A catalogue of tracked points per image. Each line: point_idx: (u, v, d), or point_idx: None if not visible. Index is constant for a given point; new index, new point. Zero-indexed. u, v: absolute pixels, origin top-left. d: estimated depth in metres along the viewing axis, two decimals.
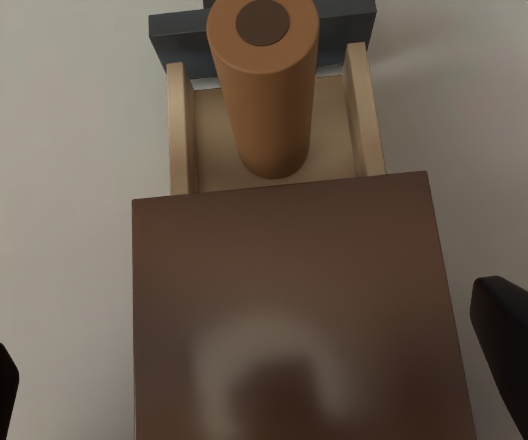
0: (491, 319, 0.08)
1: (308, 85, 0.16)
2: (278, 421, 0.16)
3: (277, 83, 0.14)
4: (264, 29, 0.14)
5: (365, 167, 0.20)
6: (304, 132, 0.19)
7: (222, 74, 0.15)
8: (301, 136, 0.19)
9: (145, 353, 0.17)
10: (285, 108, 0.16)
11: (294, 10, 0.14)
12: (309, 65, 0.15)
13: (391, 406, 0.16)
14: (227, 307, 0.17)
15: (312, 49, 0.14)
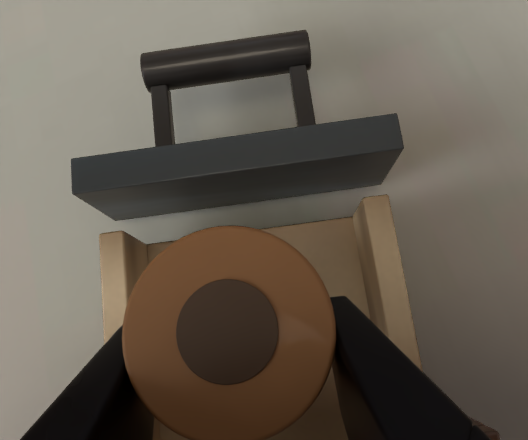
0: None
1: None
2: None
3: None
4: (230, 344, 0.07)
5: None
6: None
7: None
8: None
9: None
10: None
11: (287, 302, 0.07)
12: None
13: None
14: None
15: (324, 383, 0.07)
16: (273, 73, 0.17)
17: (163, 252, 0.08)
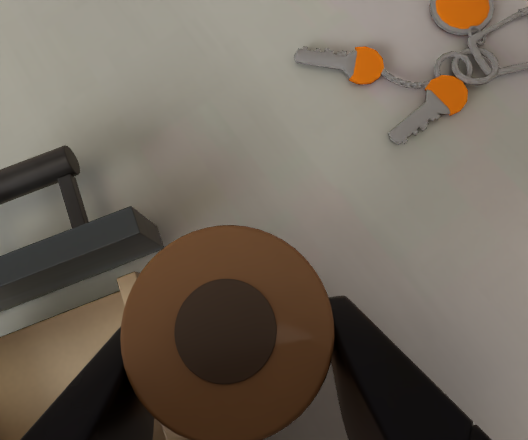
0: None
1: None
2: None
3: None
4: (228, 343, 0.07)
5: (163, 430, 0.17)
6: None
7: None
8: None
9: None
10: None
11: (285, 301, 0.07)
12: None
13: None
14: None
15: (322, 382, 0.07)
16: (48, 185, 0.21)
17: (161, 252, 0.08)
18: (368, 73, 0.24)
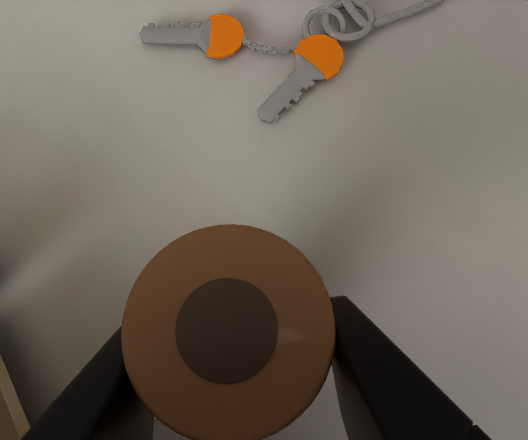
0: None
1: None
2: None
3: None
4: (230, 342, 0.07)
5: None
6: None
7: None
8: None
9: None
10: None
11: (286, 300, 0.07)
12: None
13: None
14: None
15: None
16: None
17: (162, 251, 0.08)
18: (226, 45, 0.20)
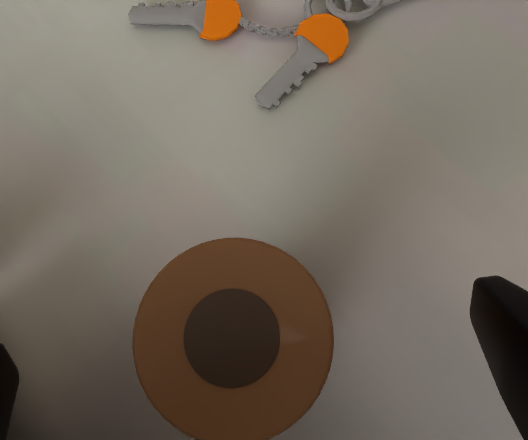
0: (491, 319, 0.08)
1: None
2: None
3: None
4: (235, 349, 0.08)
5: None
6: None
7: None
8: None
9: None
10: None
11: (288, 310, 0.08)
12: None
13: None
14: None
15: (322, 386, 0.08)
16: None
17: (171, 263, 0.08)
18: (222, 25, 0.19)
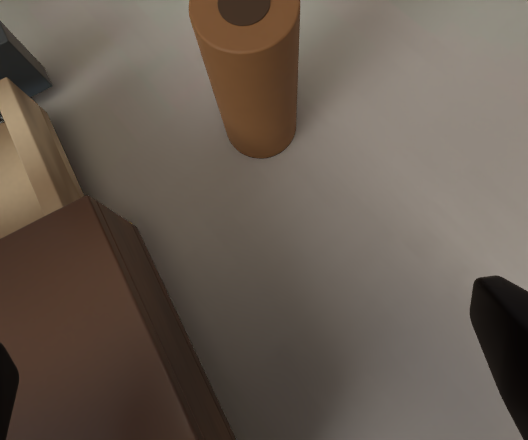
0: (491, 319, 0.08)
1: (291, 64, 0.16)
2: None
3: (259, 63, 0.15)
4: (245, 9, 0.14)
5: (42, 209, 0.18)
6: (289, 111, 0.19)
7: (205, 54, 0.15)
8: (286, 115, 0.19)
9: None
10: (268, 87, 0.16)
11: None
12: (291, 44, 0.15)
13: None
14: None
15: (293, 28, 0.14)
16: None
17: None
18: None
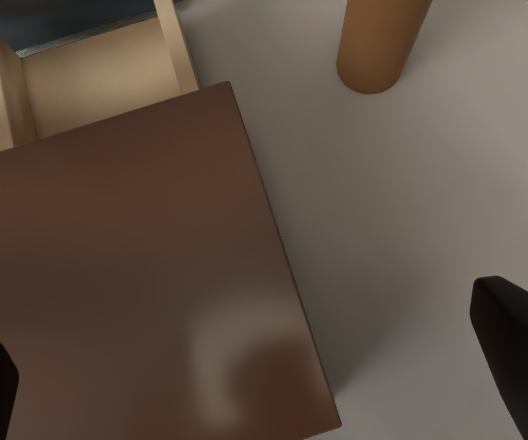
0: (491, 319, 0.08)
1: None
2: (121, 339, 0.17)
3: None
4: None
5: (181, 92, 0.20)
6: (410, 45, 0.21)
7: None
8: (406, 48, 0.21)
9: None
10: (408, 9, 0.18)
11: None
12: None
13: (223, 301, 0.17)
14: (58, 246, 0.18)
15: None
16: None
17: None
18: None
